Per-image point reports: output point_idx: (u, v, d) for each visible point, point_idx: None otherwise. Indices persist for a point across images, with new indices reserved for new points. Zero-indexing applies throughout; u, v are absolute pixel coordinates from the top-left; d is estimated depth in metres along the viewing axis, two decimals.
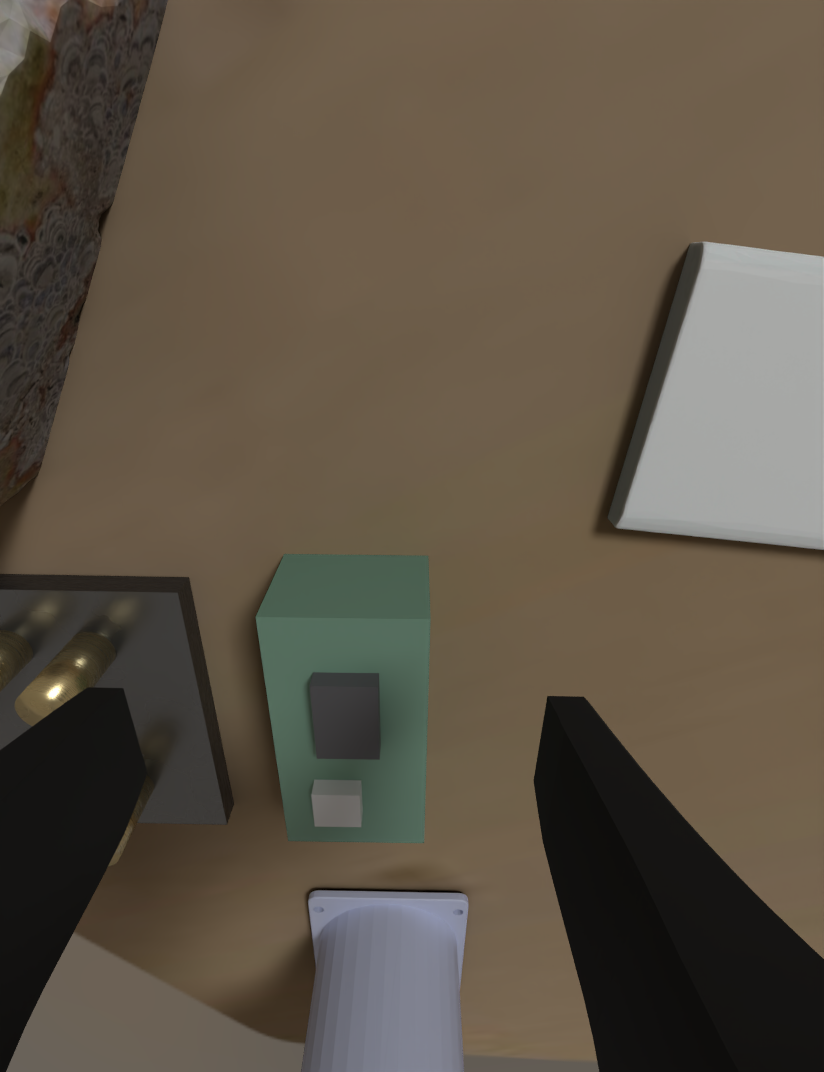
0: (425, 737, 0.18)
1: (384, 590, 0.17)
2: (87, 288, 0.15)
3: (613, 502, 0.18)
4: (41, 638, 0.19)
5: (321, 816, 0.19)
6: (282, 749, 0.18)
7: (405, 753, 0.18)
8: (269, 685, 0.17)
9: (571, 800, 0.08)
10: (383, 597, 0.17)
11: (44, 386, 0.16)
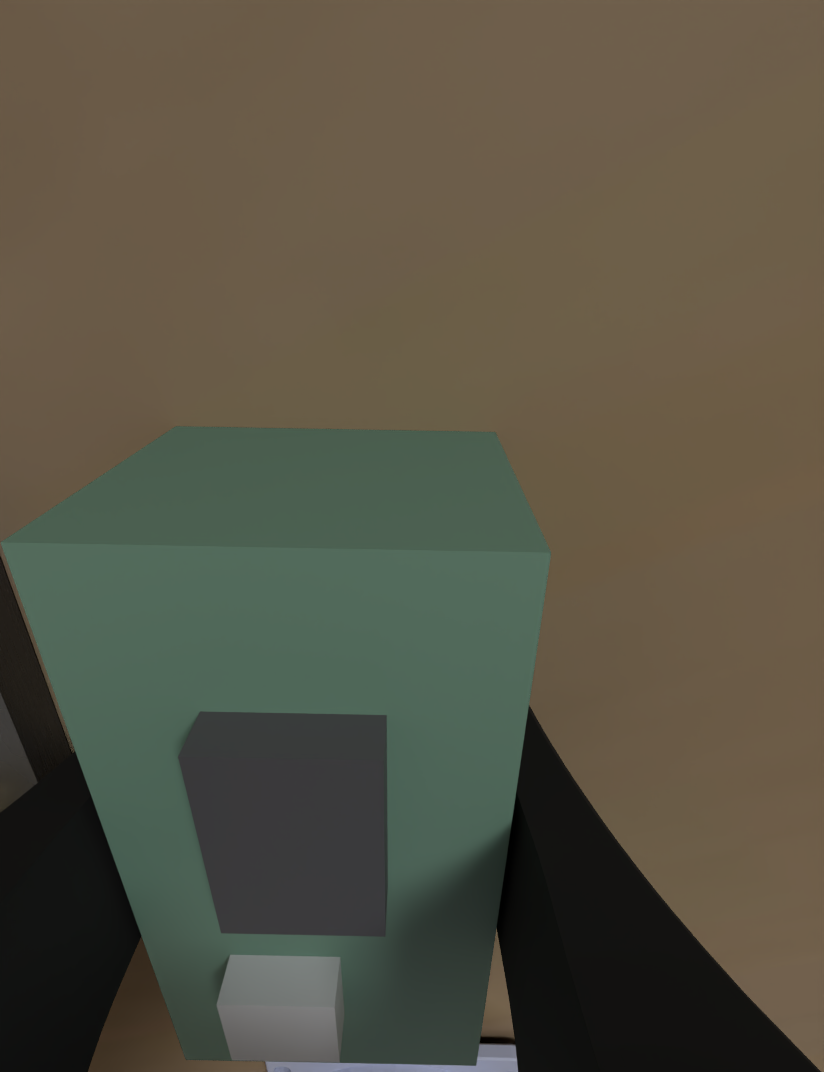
0: (500, 871, 0.07)
1: (399, 487, 0.06)
2: None
3: None
4: None
5: (246, 1043, 0.08)
6: (145, 894, 0.07)
7: (446, 905, 0.07)
8: (84, 745, 0.06)
9: None
10: (399, 502, 0.06)
11: None
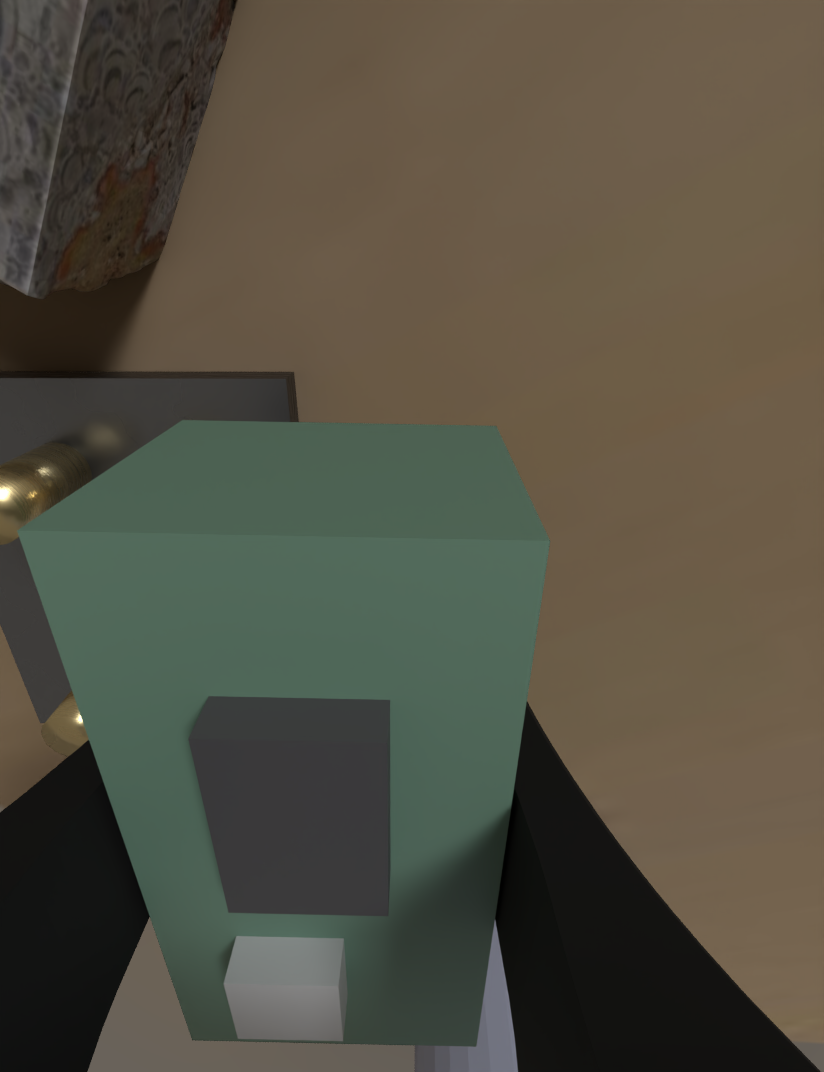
0: (500, 853, 0.07)
1: (402, 479, 0.06)
2: None
3: None
4: (103, 454, 0.15)
5: (251, 1022, 0.08)
6: (154, 876, 0.07)
7: (447, 887, 0.08)
8: (96, 729, 0.06)
9: None
10: (403, 492, 0.06)
11: (190, 96, 0.12)
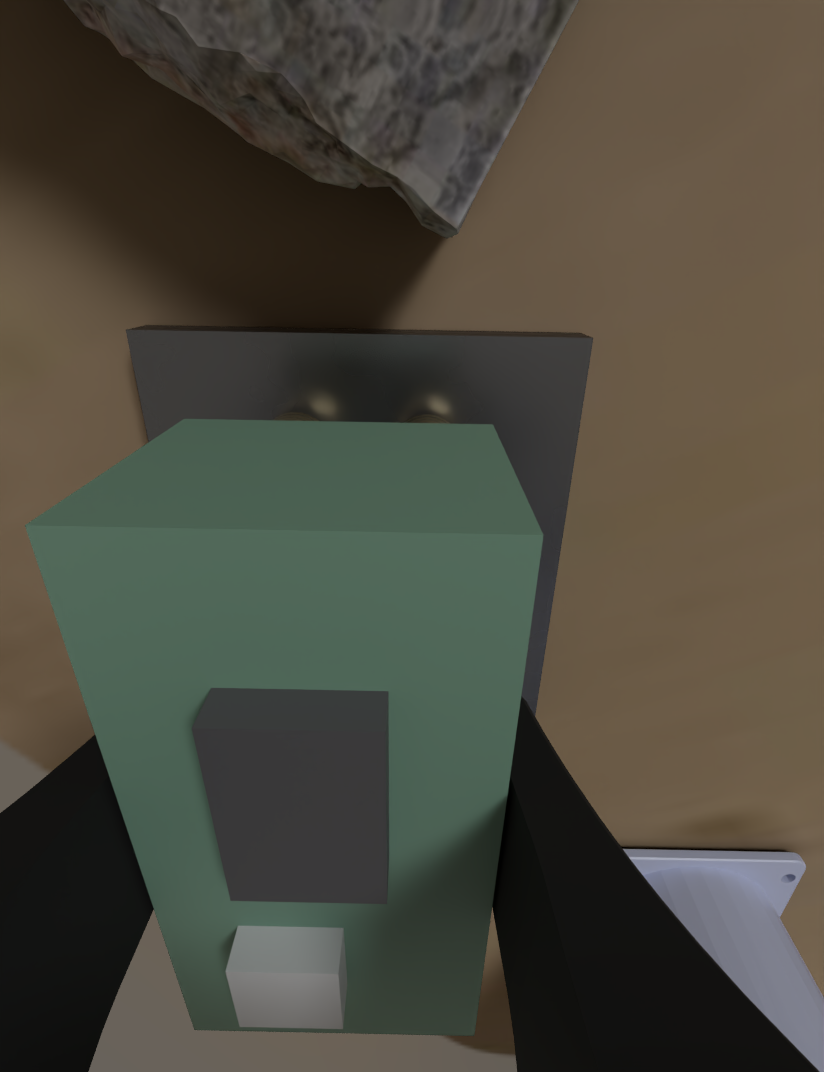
0: (496, 843, 0.07)
1: (401, 475, 0.07)
2: None
3: None
4: None
5: (253, 1010, 0.08)
6: (157, 866, 0.08)
7: (444, 877, 0.08)
8: (101, 720, 0.06)
9: None
10: (400, 489, 0.06)
11: None
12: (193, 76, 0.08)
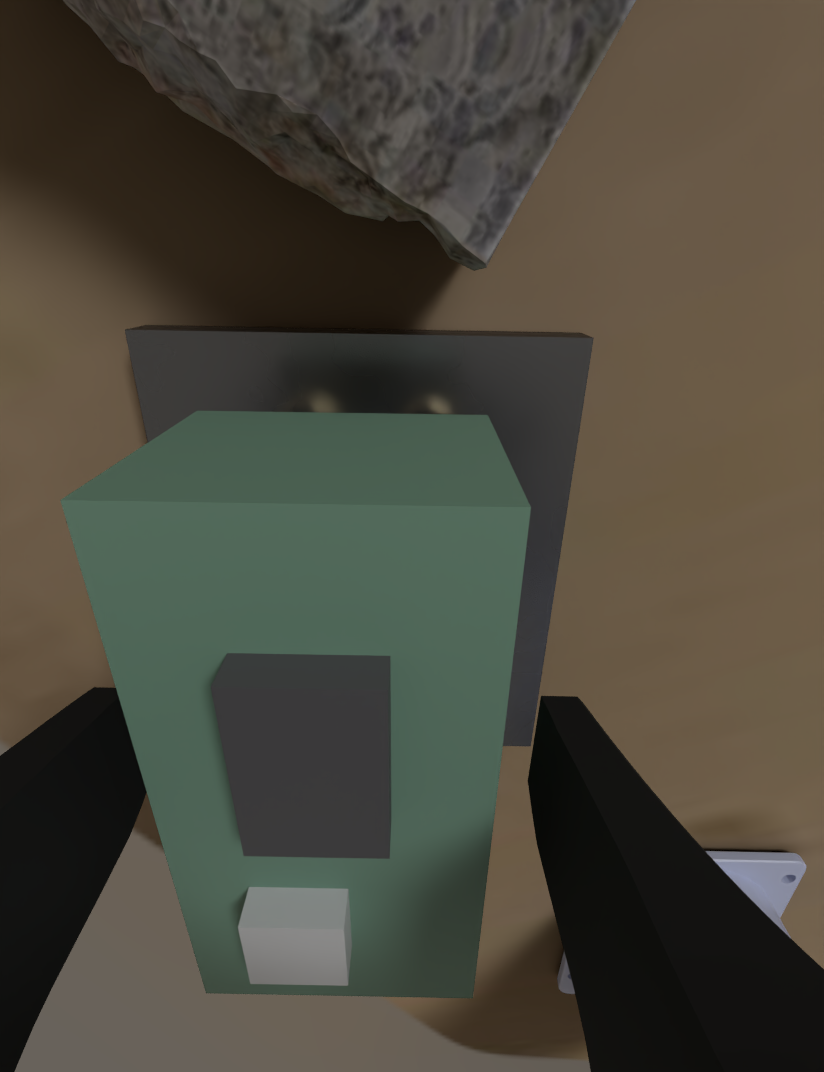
0: (492, 804, 0.08)
1: (401, 459, 0.07)
2: None
3: None
4: None
5: (263, 966, 0.09)
6: (174, 827, 0.08)
7: (444, 837, 0.08)
8: (124, 685, 0.07)
9: (564, 800, 0.08)
10: (401, 470, 0.07)
11: None
12: (227, 113, 0.08)
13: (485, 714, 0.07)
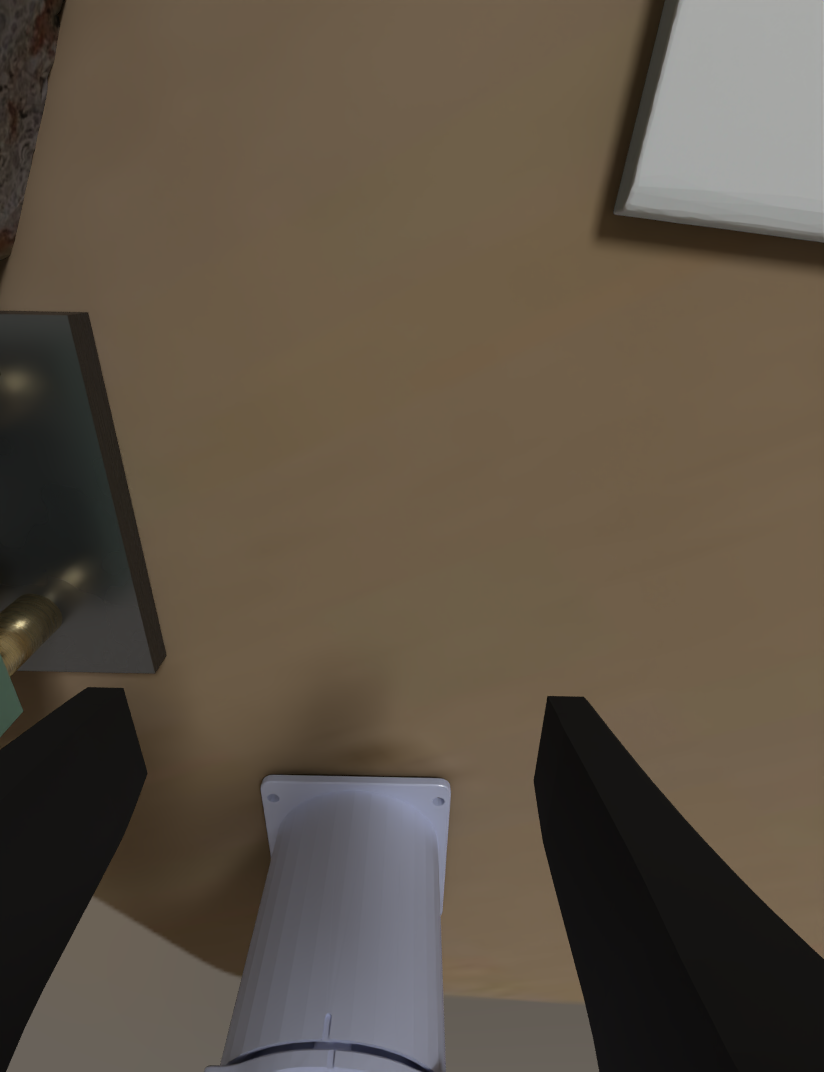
0: None
1: None
2: None
3: (621, 184, 0.14)
4: None
5: None
6: None
7: None
8: None
9: (571, 800, 0.08)
10: None
11: (15, 105, 0.12)
12: None
13: None
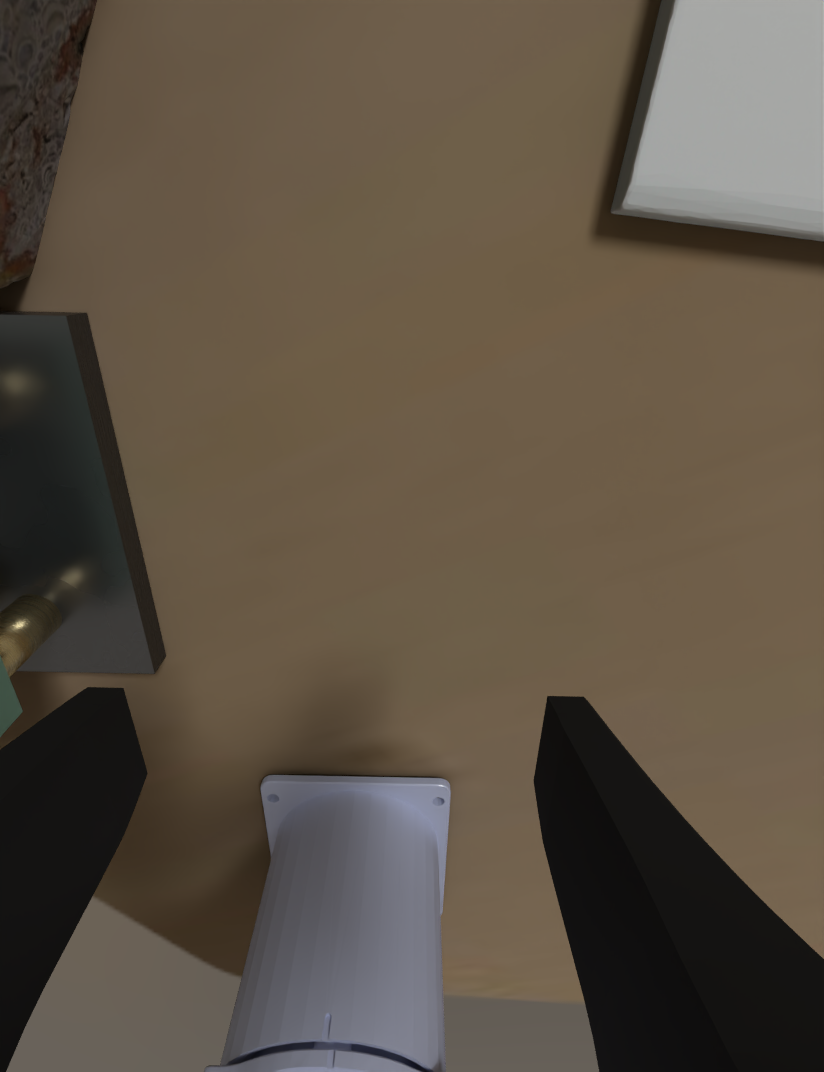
0: None
1: None
2: (93, 3, 0.12)
3: (618, 183, 0.14)
4: None
5: None
6: None
7: None
8: None
9: (571, 800, 0.08)
10: None
11: (40, 131, 0.13)
12: None
13: None
